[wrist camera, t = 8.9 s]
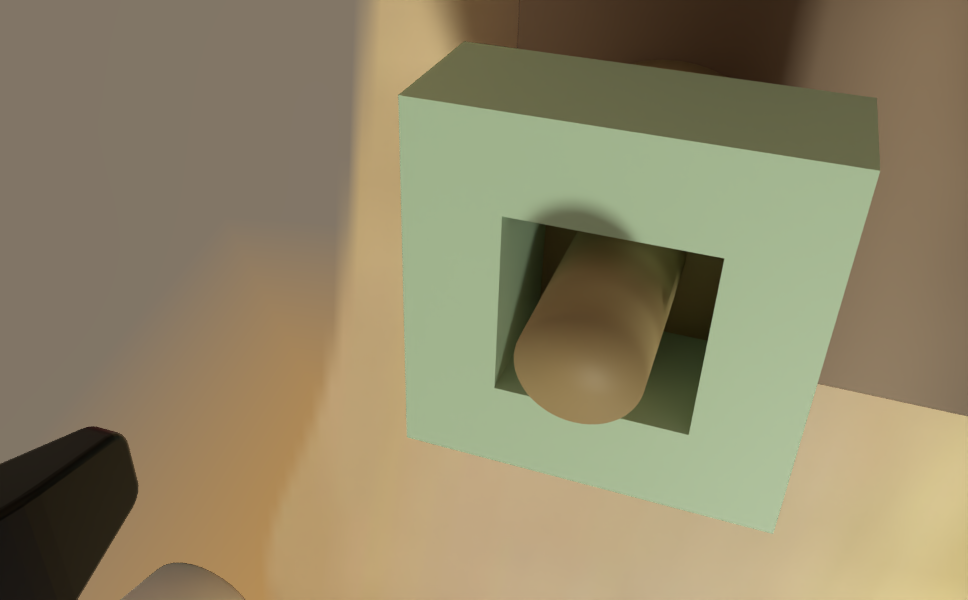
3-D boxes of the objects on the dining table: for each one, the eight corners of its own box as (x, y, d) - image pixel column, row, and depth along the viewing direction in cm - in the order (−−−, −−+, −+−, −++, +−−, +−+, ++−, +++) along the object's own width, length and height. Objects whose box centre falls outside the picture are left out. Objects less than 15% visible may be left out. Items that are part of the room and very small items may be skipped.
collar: (876, 97, 12) (881, 170, 10) (783, 430, 16) (773, 533, 14) (464, 41, 14) (398, 95, 12) (459, 354, 17) (406, 437, 15)
